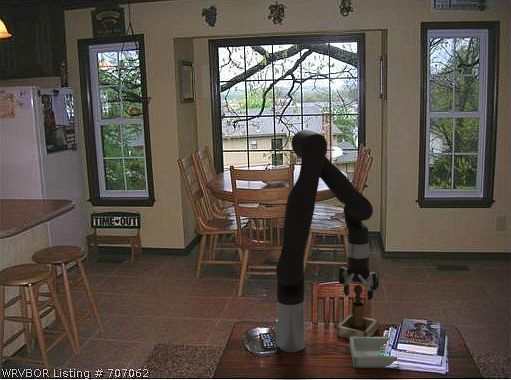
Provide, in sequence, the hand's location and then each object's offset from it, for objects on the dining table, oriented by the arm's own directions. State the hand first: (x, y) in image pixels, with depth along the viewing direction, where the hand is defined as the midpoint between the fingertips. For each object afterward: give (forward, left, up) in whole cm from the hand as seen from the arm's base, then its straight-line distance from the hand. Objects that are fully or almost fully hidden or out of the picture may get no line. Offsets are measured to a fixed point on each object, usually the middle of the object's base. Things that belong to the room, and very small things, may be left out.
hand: (358, 297), depth 189 cm
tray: (+11, -14, -14) cm, 22 cm away
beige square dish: (0, 0, -14) cm, 14 cm away
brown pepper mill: (0, 0, -14) cm, 14 cm away
